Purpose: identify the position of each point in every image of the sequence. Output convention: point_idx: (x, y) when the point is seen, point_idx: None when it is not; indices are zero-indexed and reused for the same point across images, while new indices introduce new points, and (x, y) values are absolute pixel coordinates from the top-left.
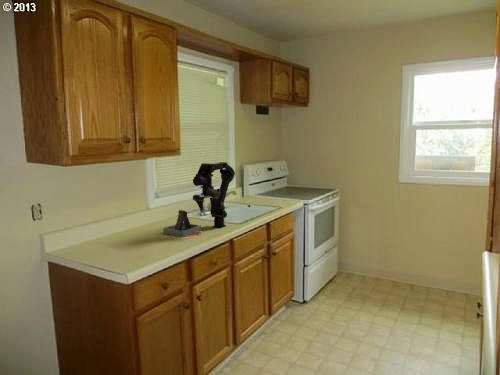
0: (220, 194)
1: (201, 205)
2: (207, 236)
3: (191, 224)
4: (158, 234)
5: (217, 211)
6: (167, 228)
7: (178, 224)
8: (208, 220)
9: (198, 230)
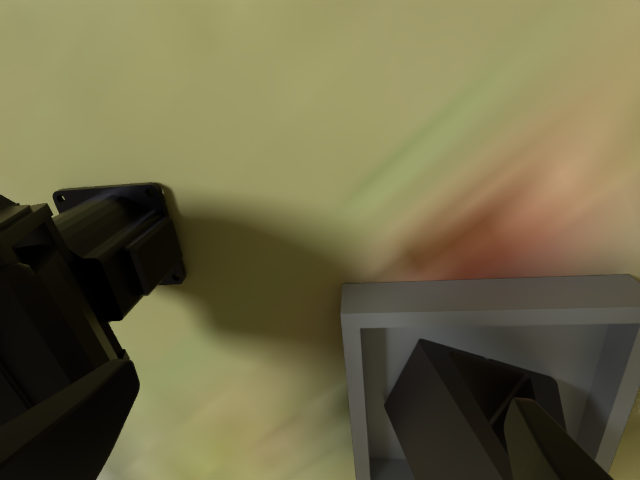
0: None
1: None
2: (514, 54)
3: (362, 407)
4: (627, 464)
5: (41, 309)
6: None
7: None
8: None
9: (387, 287)
